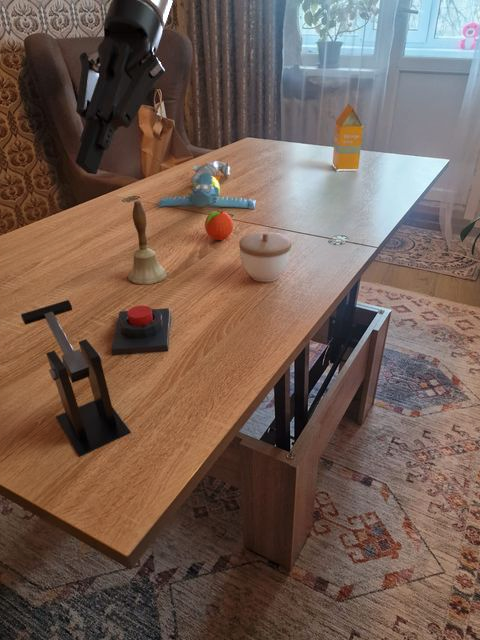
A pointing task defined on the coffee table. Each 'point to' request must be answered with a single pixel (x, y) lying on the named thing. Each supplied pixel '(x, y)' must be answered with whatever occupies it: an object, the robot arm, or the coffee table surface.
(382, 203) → the coffee table surface
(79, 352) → the press lever
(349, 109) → the orange juice
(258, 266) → the trinket box
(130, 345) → the control block
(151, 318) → the button
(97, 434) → the lever bracket
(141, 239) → the hand bell
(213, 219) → the clementine
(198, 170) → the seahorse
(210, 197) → the blue toy plane
